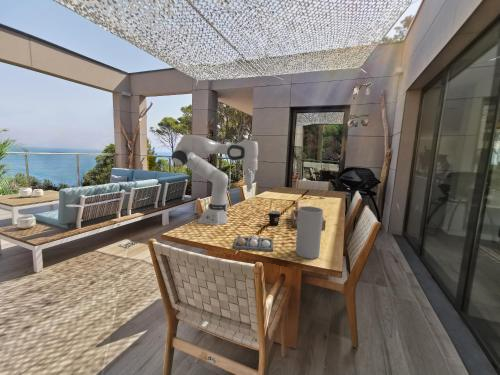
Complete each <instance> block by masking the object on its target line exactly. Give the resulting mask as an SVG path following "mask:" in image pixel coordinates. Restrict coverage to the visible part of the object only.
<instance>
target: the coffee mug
mask: <svg viewBox="0 0 500 375" xmlns="http://www.w3.org/2000/svg"><path fill="white" fill-rule="evenodd" d="M266 216H268V218H269V219H267V218H266ZM263 217H264V219H265V220H266V221H267V222H268V223H269V226H271V227H278V226H279V223H280V217H281V212H280V211H279V210H269V211H268V213H266V214H265V215H264V216H263Z"/></svg>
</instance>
